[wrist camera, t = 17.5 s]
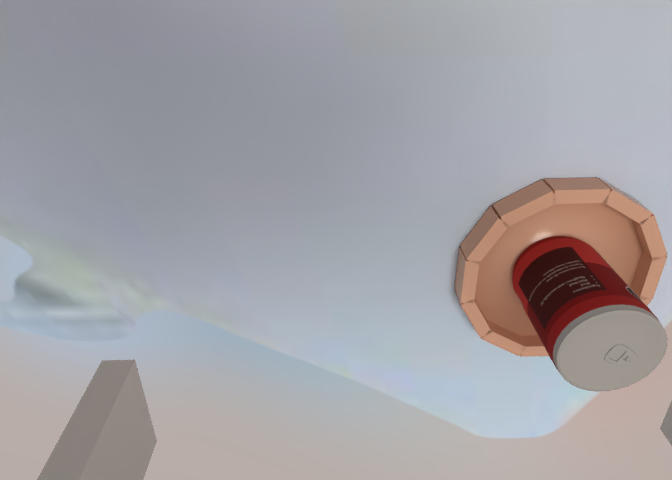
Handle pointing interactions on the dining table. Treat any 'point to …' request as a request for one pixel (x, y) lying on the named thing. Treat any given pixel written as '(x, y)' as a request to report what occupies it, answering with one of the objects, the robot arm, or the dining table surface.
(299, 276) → the dining table surface
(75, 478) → the robot arm
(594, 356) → the canned food
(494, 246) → the bowl
